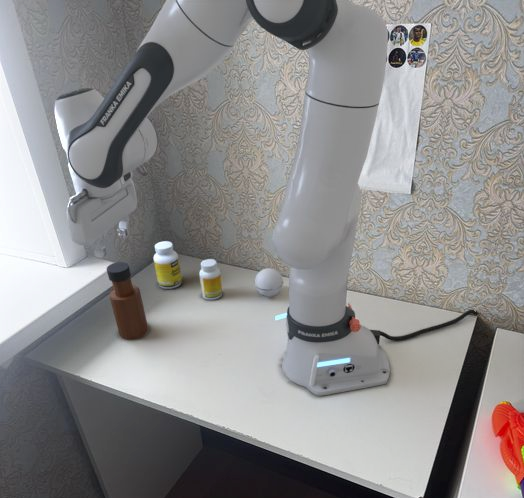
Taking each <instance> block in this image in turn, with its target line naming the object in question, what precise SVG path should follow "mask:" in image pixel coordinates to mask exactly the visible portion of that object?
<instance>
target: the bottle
mask: <svg viewBox="0 0 524 498" xmlns="http://www.w3.org/2000/svg"><path fill="white" fill-rule="evenodd" d="M111 284H112V287H113V288H112V289H111V290H109V293H108V297H109V301H110V305H111V308H112V312H113V315H114V318H115V323H116V327H117V330H118V334H119V336H120V337H121V338H122V339H123V340H127V341H133V340H138V339H141V338H143V337H144V336H146V335H147V334H148V333H149V325H148V321H147V316H146V311H145V307H144V302H143V300H142V299H143V298H142V293H141V289H140V287H138V286H137V285H135V284H133V283H132V278H131V277H130V278H129V279H127V280H125V281H122V282H112V281H111Z"/></svg>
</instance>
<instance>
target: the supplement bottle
mask: <svg viewBox="0 0 524 498" xmlns="http://www.w3.org/2000/svg"><path fill="white" fill-rule="evenodd" d="M198 274H199V283H200V290H201V297H202V298H203V299H205V300H208V301H214V300H218V299H220V298H221V297H222V295H223V285H222V276H221V274H222V273H221V270H220V268H219V267H218V262H217V260H215V259H214V258H207V259H204V260H202V261H201V262H200V270H199V273H198Z"/></svg>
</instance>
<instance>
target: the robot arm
mask: <svg viewBox="0 0 524 498" xmlns="http://www.w3.org/2000/svg"><path fill="white" fill-rule="evenodd" d="M254 21H255V22H256V24H257V25H259V26H260V28H261V29H263V30H264V31H266V32H267V33H269V34H270V35H272V36H274V37H276V38H278V39H280V40H282V41H284V42H286V43H287V44H289V45H290V46H293V47H294V48H295V49H298V50H300V51H307V53H308V54H307V55H308V71H307V78H306V85H305V92H304V99H303V106H302V112H301V113H302V114H301V119H300V126H299V134H298V140H297V145H296V150H295V154H294V158H293V160H292V164H291V168H290V171H289V174H288V178H287V181H286V186H285V190H284V193H283V199H282V202H281V205H280V210H279V213H278V217H277V220H276V223H275V225H274V228H273V230H272V231H273V232H272V237H271V238H272V246H273V249H274V251H275V253H276V255H277V257H278V258H279V259H280V260H281V261H282V262H283V263H284V264H286V265H287V266H288V267H290V269H289V273H288V307H287V310H286V312H285V313H281V314H278V315H275V316H274V318H275V319H274V320H275V321H278V320H282V319H285V318H286V319H285V320H286V321H285V323H286V324H285V326H286V334H287V343H286V349H285V353H284V357H283V359H282V362H281V369H282V371H283V374H284V375H285V376H286V377H287V379H288V380H289V381H291V382H292V383H295V384H296V385H298V386H300V387H304V388H306V389H307V390H309V392H311V393H312V394H314V395H316V396H319V397H322V396H323V397H324V396H328V395H333V394H338V393H343V392H344V393H345V392H350V391H355V390H360V389H361V390H362V389H366V388H372V387H377V386H382V385H386V383H387V382H388V381H389V378H390V372H391V371H390V367H391V366H390V362H389V359H388V356H387V354H386V352H385V350H384V349H383V348H382V347H381V346H380V341H381V337H383V338H385V339H386V340H389V341H393V342H396V341H397V342H399V341H405V340H409V339H411V338H414V337H417V336H419V335H423V334H426V333H429V332H433V331H436V330H439V329H444V328H446V327H449V326H452V325H455V324H457V323H459V322H461V321H462V320H464V319H465V318H467V316H469V315H471V314H472V315H474V316H475V315H476V316H477V315H479V312H478V311H477V310H476V312H475V311H474V310H475V309H469V310H467V311H465V312H463V313H462V314H461V315H459V316H457V317H456V318H454V319H451V320H448V321H446V322H443V323H439V324H436V325H433V326H429V327H426V328H422V329H419V330H416V331H414V332H411V333H408V334H404V335H399V336H393V335H390V334H388V333H386V332H384V331H381V330H380V329H379V330H378V329H371V328H370V329H369V328H368V327H366V326H364V325H362V324H360V320H359V319H357V318H356V313H355V311H354V310H353V307H352V305H351V304H350V302H348V303H347V293H348V281H349V274H350V268H351V262H352V258H353V252H354V246H355V241H356V235H357V229H358V223H359V215H360V208H361V203H362V192H361V188H360V184H359V181H360V177H361V174H362V171H363V168H364V165H365V163H366V160H367V157H368V154H369V148H370V145H371V141H372V137H373V131H374V127H375V123H376V119H377V115H378V110H379V106H380V102H381V97H382V92H383V88H384V87H383V86H384V81H385V76H386V75H385V74H386V67H387V59H388V58H387V57H388V45H389V44H388V43H389V29H388V26H387V23H386V21H385V19H384V18H383V16H381V15H380V14H379V13H378V12H377V11H375V10H374V9H372V8H370V7H368V6H365V5H361V4H355V3H353V2H351V1H350V0H165V2H164V4H163V6H162V7H161V9H160V11H159V13H158V14H157V16H156V18H155V20H154V21H153V23H152V25H151V27H150V29H149V30H148V32H147V33H146V35H145V36H144V38H143V40H142V41H141V43H140V45H139V46H138V47H137V50H136V51H135V52H134V54H133V56H132V57H131V59H130V60H129V62H128V63H127V64H126V66H125V67H124V69H123V70H122V72H121V73H120V74H119V76H118V78H116V80H115V82H114V83H113V85H112V87H111V88H110V90H109V91H108V92H107V94H106V96H105V97H104V96H102V95H101V93H99V91H97V90H96V89H94V88H91V87H84V88H78V89H76V90H72V91H69V92H67V93H64V94H61V95H59V96H58V97H57V98H56V100H55V102H54V116H55V121H56V127H57V131H58V134H59V138H60V142H61V145H62V148H63V150H64V152H65V153H66V159H67V161H68V169H69V174H70V177H71V180H72V183H73V188H74V192H75V195H72V196H71V197H70V198H69V202H68V205H67V207H66V219H67V225H68V230H69V234H70V238H71V241H72V242H73V243H74V244H75V245H79V246H86V247H87V246H89V247H90V248H91V249H92V250H93V252H94V256H95V258H98V259H103V258H104V257H105V256H106V255H107V251H106V247H105V246H102V245H101V244H100V243H101V238H102V237H103V236H104V235H105V234H106V233H108V232H109V231H110V230H112V228H114V227H115V226H116V225H118V229H117V230H116V231H117V233H118V237H119V238H120V239H126V238H127V237H128V236H129V235H130V230H129V223H130V216H129V215H130V214H131V213H133V212H134V211H135V210H136V209H137V208H138V195H137V192H136V191H137V190H136V186H135V182H134V181H133V179H132V178H133V176H134V174H133V173H134V172H133V171H134V170H136V169H138V167H141V166H142V165H143V164H145V163H147V162H148V161H150V159H152V157H154V156H155V155H156V153H157V151H158V145H159V140H158V139H159V138H158V134H157V130H156V127H155V126H154V123H153V122H152V121H151V119H150V118H149V116H150V114H152V112H153V111H154V110H155V109H156V108H157V106H159V105H160V104H161V103H163V101H165V100H167V99H168V98H169V97H171V96H172V95H174V94H176V93H177V92H180V91H181V90H183V89H184V88H186V87H189V86H191V85H192V84H194V83H196V82H198V81H200V80H202V79H203V78H205V77H206V76H208V74H210V73H211V72H212V71H213V70H214V69H215V68H217V66H218V65H220V64H221V62H222V61H224V59H225V58H226V57H227V56H228V55H229V54H230V52H231V50H232V49H233V48H234V47H235V45H236V43H237V42H238V41H239V39H240V37H241V36H242V35H243V33H244V32H245V31H246V29H247V28H248V27H249V25H251V23H253V22H254ZM347 305H348V306H347Z"/></svg>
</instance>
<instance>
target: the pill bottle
mask: <svg viewBox="0 0 524 498" xmlns="http://www.w3.org/2000/svg"><path fill="white" fill-rule="evenodd" d="M154 251H155V253H154V255H153V265H154V269H155V275H156V280H157V283H158V286H159V287H160V288H161V289H164V290H165V289H166V290H170V289H171V290H172V289H176V288H177V287H180V286H181V284H182V281H183V279H182V278H183V277H182V272H181V266H180V261H179V260H180V259H179V255H178V253H177V251H175V250H174V244H173V242H171V241H168V240H163V241H159V242H156V243H155V245H154Z"/></svg>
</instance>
